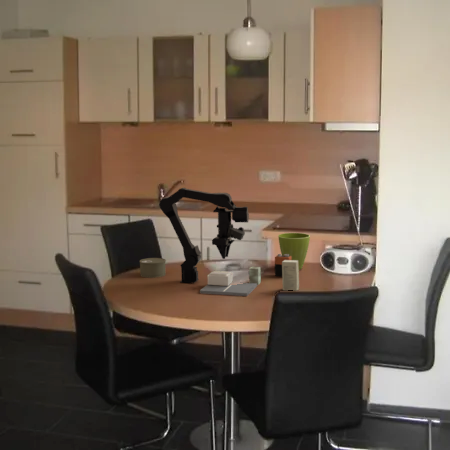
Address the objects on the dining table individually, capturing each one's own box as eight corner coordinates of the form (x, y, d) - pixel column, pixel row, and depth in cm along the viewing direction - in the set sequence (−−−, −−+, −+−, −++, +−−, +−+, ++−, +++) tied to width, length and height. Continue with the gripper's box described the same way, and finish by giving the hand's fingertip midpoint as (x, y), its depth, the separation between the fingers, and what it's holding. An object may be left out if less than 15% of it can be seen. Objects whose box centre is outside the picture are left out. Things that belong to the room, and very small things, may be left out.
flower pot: (311, 271, 311) (311, 238, 309) (279, 272, 312) (279, 238, 309) (307, 265, 326) (308, 232, 324) (277, 265, 326) (277, 233, 324)
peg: (249, 284, 289) (249, 268, 288) (251, 282, 293) (251, 266, 292) (258, 284, 288) (258, 269, 287) (260, 282, 292) (260, 267, 291)
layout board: (199, 293, 275) (199, 290, 275) (212, 283, 291) (212, 280, 291) (247, 296, 270) (246, 293, 269) (257, 286, 286) (256, 283, 286)
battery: (289, 277, 301) (289, 255, 299) (274, 276, 303) (274, 254, 302) (291, 275, 305) (291, 253, 303) (277, 274, 307) (277, 252, 306)
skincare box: (299, 288, 280) (299, 260, 278) (297, 291, 276) (297, 262, 274) (284, 287, 282) (284, 259, 280) (281, 290, 278) (281, 261, 276)
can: (170, 275, 309) (170, 260, 308) (147, 279, 302) (147, 264, 301) (158, 270, 318) (157, 256, 317) (135, 274, 312) (134, 259, 311)
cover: (207, 284, 283) (207, 273, 283) (212, 280, 290) (212, 270, 289) (228, 285, 281) (227, 275, 280) (232, 281, 288) (232, 271, 287)
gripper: (236, 226, 278) (237, 262, 280) (248, 219, 296) (248, 254, 298) (211, 225, 281) (212, 261, 284) (223, 219, 299) (224, 253, 301)
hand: (225, 257), depth 292 cm, fingers open, 4 cm apart
